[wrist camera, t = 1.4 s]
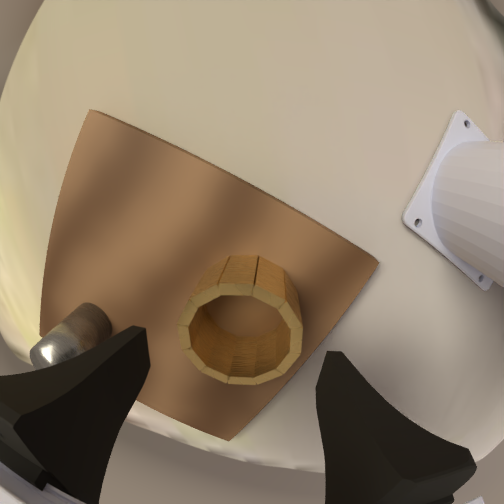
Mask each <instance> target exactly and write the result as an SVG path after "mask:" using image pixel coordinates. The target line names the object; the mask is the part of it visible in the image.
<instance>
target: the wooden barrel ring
mask: <svg viewBox="0 0 504 504" xmlns="http://www.w3.org/2000/svg"><path fill="white" fill-rule="evenodd" d="M221 295H244V296H253V297H255V298H257V299H259V300H261V301H263V302H265V303H267V304H269V305H271V306H273V307H275V308H277V309H278V311H279V312H280V314H281V316H282V317H283V319H282V321H281V322H280V324H279V325H278V327H277V328H276V329H274V330H272V331H270V332H268V333H265V334H263V335H261V336H259V337H241V336H236V335H234V334H232V333H230V332H227V331H225V330H223V329H221V328H219V327H218V325H217V324H216V323H215V321H214V320H213V319H212V317H211V316H210V315H209V313H208V312H207V304H206V303H208V302H209V301H211V300H213V299H215V298H217V297H219V296H221ZM177 323H178V324H177V328H178V334H179V339H180V344H181V349H183V350H182V351H183V352H184V353H185V355H186V356H187V357H188V358H189V359H190V360H191V362H192V363H193V364H194V365H195V366H196V367H197V368H198V370H199V371H200V370H201V372H202V373H205V374H207V375H209V376H211V377H213V378H215V379H218V380H220V381H222V382H224V383H227V382H228V384H242V385H256V383H257V385H258V384H261V383H263V382H266V381H269V380H271V379H274V378H276V377H279V376H281V375H283V374H285V372H286V371H287V370H288V369H289V368H290V366H291V365H292V364H293V363H294V362H295V361H296V359H297V358H298V357H299V356H300V353H301V347H302V334H303V325H302V318H301V312H300V306H299V299H298V293H297V290H296V288H295V286H294V285H293V283H292V281H291V280H290V278H289V276H288V275H287V273H286V271H285V270H283V268H282V267H280V266H278V265H276V264H274V263H272V262H270V261H269V260H267V259H265V258H263V257H261V256H259V258H258V255H231V257H230V256H228V257H226V258H225V259H223V260H221V261H219V262H218V263H216V264H214V265H213V266H211V267H209V268H208V269H207V270H206V271H205V273H204V275H203V276H202V278H201V280H200V281H199V283H198V285H197V286H196V288H195V290H194V292H193V293H192V295H191V297H190V298H189V300H188V302H187V304H186V306H185V308H184V310H183V312H182V314H181V316H180V318H179V320H178V322H177Z"/></svg>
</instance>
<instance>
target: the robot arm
mask: <svg viewBox="0 0 504 504" xmlns="http://www.w3.org/2000/svg"><path fill="white" fill-rule="evenodd" d="M464 121H465V122H466V124H467V127H465V125H464ZM416 219H419V224H418V225H417V226H415V225H414V222H415V220H416ZM402 221H403V223H404V224H405V225H406V226H407V227H409V228H410V229H411V230H413V231H414V232H415V233H417V234H418V235H419V236H420V237H422V238H423V239H424V240H425V241H427V242H428V243H429V244H430V245H432V246H433V247H434V248H435V249H437V250H438V251H439V252H440V253H441V254H443V255H444V256H445V257H446V258H447V259H449V260H450V261H451V262H452V263H453V264H454V265H456V266H457V267H458V268H459V269H460V270H461V271H462V272H463V273H465V274H466V275H467V276H468V277H469V278H470V279H471V280H472V281H473V282H474V283H476V284H477V285H478V286H479V287H480V288H481V289H482V290H483V291H487V290H488V289H489V288H490V287H491V285H492V283H493V282H494V281H495V282H496V283H497V284H499V285H500V286H502V287H503V288H504V141H490V140H489V139H488V138H487V137H486V136H485V134H484V133H483V132H482V131H481V130H480V129H479V128H478V127H477V126H476V124H475V123H474V122H473V121H472V120H471V119H470V118H469V117H468V116H467V115H466V114H465V113H464V112H463V111H460V110H458V111H455V112H454V113H453V115H452V117H451V120H450V122H449V124H448V126H447V129H446V131H445V133H444V135H443V137H442V140H441V142H440V144H439V146H438V148H437V150H436V152H435V154H434V156H433V158H432V160H431V162H430V164H429V166H428V168H427V170H426V172H425V174H424V176H423V178H422V180H421V182H420V183H419V185H418V187H417V189H416V191H415V193H414V194H413V196H412V198H411V200H410V202H409V203H408V205H407V207H406V209H405V210H404V212H403V214H402ZM479 277H480V278H479ZM150 367H151V364H150V356H149V349H148V341H147V332H146V328H144V327H139V326H134V325H132V326H130V327H128V328H127V329H125V330H123V331H121V332H120V333H118V334H116V335H114V336H113V337H111V338H109V339H108V340H106V341H104V342H102V343H101V344H99V345H97V346H95V347H93V348H91V349H89V350H87V351H85V352H83V353H81V354H80V355H78V356H75V357H73V358H71V359H69V360H66V361H64V362H61V363H58V364H56V365H53V366H50V367H46V368H43V369H39V370H35V371H32V372H27V373H22V374H15V375H7V376H0V504H99V498H100V493H101V488H102V483H103V479H104V476H105V472H106V468H107V464H108V461H109V458H110V455H111V452H112V449H113V446H114V443H115V441H116V438H117V435H118V433H119V430H120V428H121V426H122V424H123V422H124V420H125V418H126V417H127V415H128V413H129V411H130V409H131V407H132V406H133V404H134V402H135V400H136V398H137V397H138V395H139V393H140V391H141V389H142V387H143V385H144V383H145V380H146V378H147V375H148V372H149V369H150ZM316 408H317V415H318V420H319V426H320V432H321V438H322V443H323V449H324V456H325V475H326V496H325V497H326V498H325V504H452V503H453V502H454V497H453V493H454V492H455V491H456V490H458V489H459V488H460V487H461V486H462V485H464V484H465V483H466V482H467V481H468V480H469V479H470V478H471V477H472V476H473V475H474V473H475V471H476V468H477V466H476V464H475V462H474V459H473V457H472V455H471V453H470V451H469V449H467V448H465V447H462V446H459V445H456V444H454V443H451V442H449V441H446V440H444V439H442V438H440V437H438V436H436V435H434V434H432V433H430V432H428V431H427V430H425V429H423V428H422V427H420V426H419V425H417V424H415V423H414V422H412V421H411V420H409V419H408V418H407V417H405V416H404V415H403V414H401V413H400V412H399V411H398V410H396V409H395V408H394V407H393V406H392V405H390V404H389V403H388V402H387V401H386V400H385V399H384V398H383V397H382V396H381V395H380V394H379V393H378V392H377V391H376V390H375V389H374V388H373V387H372V386H371V385H370V384H369V383H368V382H367V381H366V380H365V378H364V377H363V376H362V375H361V374H360V373H359V371H358V370H357V369H356V368H355V367H354V366H353V364H352V363H351V362H350V361H349V360H348V358H347V357H346V356H345V355H344V354H343V353H342V352H339V351H327V353H326V356H325V359H324V363H323V366H322V369H321V372H320V376H319V379H318V382H317V385H316ZM464 504H485V503H484V501H483V498H482V496H479V497H477V498H475V499H473V500H470V501H468V502H466V503H464Z"/></svg>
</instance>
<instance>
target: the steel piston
mask: <svg viewBox="0 0 504 504" xmlns="http://www.w3.org/2000/svg"><path fill="white" fill-rule="evenodd" d="M111 334H112V325H111V322H110V320H109V318H108V316H107V315H106V314H105V312H104V311H103V310H102V309H101V308H99V307H98V306H96V305H95V304H92V303H87V302H86V303H82V304H81V305H79V306H78V307H77V308H76V309H75V310H74V311H72V312H71V313H70V314H69V315H68V316H67V317H66V318H64V319H63V320H62V321H61V322H60V323H59V324H58V325H57V326H55V327H54V328H53V329H52V330H51V331H50V332H49V333H48V334H47V335H46V336H44V337H43V338H42V339H41V340H40V341H39V342H38V343H37V344H36V345H35V346H34V347H33V348H32V349H31V350H30V359H31V362H32V364H33V366H34V368H35V369H36V370H39V369H43V368H46V367H50V366H53V365H56V364H58V363H61V362H64V361H66V360H69V359H71V358H73V357H75V356H78V355H80V354H81V353H83V352H85V351H87V350H89V349H91V348H93V347H95V346H97V345H99V344H101V343H102V342H104V341H106V340H108V339H109V338H110V336H111Z"/></svg>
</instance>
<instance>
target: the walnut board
mask: <svg viewBox="0 0 504 504" xmlns="http://www.w3.org/2000/svg"><path fill="white" fill-rule="evenodd" d="M231 255H258V258H259V256H261V257H263V258H265V259H267V260H269V261H270V262H272V263H274V264H276V265H278V266H280V267H282V268H283V270H285V271H286V273H287V275H288V276H289V278H290V280H291V281H292V283H293V285H294V286H295V288H296V290H297V293H298V299H299V306H300V312H301V318H302V325H303V334H302V347H301V353H300V356H299V357H298V358H297V359H296V361H295V362H294V363H293V364H292V365H291V366H290V368H289V369H288V370H287V371H286V372H285V374H283V375H281V376H279V377H276V378H274V379H271V380H269V381H266V382H263V383H261V384H258V385H257V383H256V385H242V384H228V382H227V383H224V382H222V381H220V380H218V379H215V378H213V377H211V376H209V375H207V374H205V373H202V372H201V370H200V371H199V370H198V368H197V367H196V366H195V365H194V364H193V363H192V362H191V360H190V359H189V358H188V357H187V356H186V355H185V353H184V352H183V351H182V350H183V349H181V344H180V339H179V334H178V328H177V324H178V323H177V322H178V320H179V318H180V316H181V314H182V312H183V310H184V308H185V306H186V304H187V302H188V300H189V298H190V297H191V295H192V293H193V292H194V290H195V288H196V286H197V285H198V283H199V281H200V280H201V278H202V276H203V275H204V273H205V271H206V270H207V269H208V268H209V267H211V266H213V265H214V264H216V263H218V262H219V261H221V260H223V259H225V258H226V257H228V256H230V257H231ZM378 264H379V262H378V261H377V260H376V259H375V258H374V257H373V256H372V255H370V254H369V253H367V252H366V251H364V250H362V249H361V248H359V247H358V246H356V245H354V244H353V243H351V242H350V241H348V240H346V239H345V238H343V237H342V236H340V235H338V234H337V233H335V232H333V231H332V230H330V229H328V228H327V227H325V226H323V225H322V224H320V223H318V222H317V221H315V220H313V219H312V218H310V217H308V216H307V215H305V214H303V213H301V212H300V211H298V210H296V209H294V208H293V207H291V206H289V205H287V204H286V203H284V202H282V201H280V200H279V199H277V198H275V197H273V196H271V195H270V194H268V193H266V192H264V191H262V190H261V189H259V188H257V187H255V186H253V185H251V184H250V183H248V182H246V181H244V180H242V179H240V178H238V177H236V176H235V175H233V174H231V173H229V172H227V171H225V170H223V169H221V168H219V167H217V166H215V165H213V164H211V163H209V162H207V161H205V160H203V159H201V158H199V157H197V156H195V155H193V154H191V153H189V152H187V151H185V150H183V149H181V148H179V147H177V146H175V145H173V144H171V143H169V142H167V141H165V140H162V139H160V138H158V137H156V136H154V135H152V134H150V133H147V132H145V131H143V130H141V129H139V128H136V127H134V126H132V125H130V124H127V123H125V122H123V121H121V120H118V119H116V118H114V117H111V116H109V115H107V114H104V113H102V112H99V111H95V110H90V109H89V111H88V114H87V116H86V118H85V121H84V123H83V126H82V128H81V131H80V133H79V136H78V138H77V141H76V144H75V147H74V149H73V152H72V155H71V158H70V161H69V164H68V167H67V171H66V174H65V177H64V180H63V184H62V187H61V191H60V195H59V199H58V202H57V206H56V211H55V215H54V219H53V224H52V229H51V234H50V239H49V244H48V250H47V256H46V263H45V270H44V278H43V287H42V298H41V311H40V336H41V337H44V336H46V335H47V334H48V333H49V332H50V331H51V330H52V329H53V328H54V327H55V326H57V325H58V324H59V323H60V322H61V321H62V320H63V319H64V318H66V317H67V316H68V315H69V314H70V313H71V312H72V311H74V310H75V309H76V308H77V307H78V306H79V305H81V304H82V303H86V302H87V303H92V304H95V305H96V306H98V307H99V308H101V309H102V310H103V311H104V312H105V314H106V315H107V316H108V318H109V320H110V322H111V325H112V334H111V336H110V338H111V337H113V336H114V335H116V334H118V333H120V332H121V331H123V330H125V329H127V328H128V327H130V326H132V325H134V326H139V327H144V328H146V332H147V341H148V349H149V356H150V364H151V367H150V369H149V372H148V375H147V378H146V380H145V383H144V385H143V387H142V389H141V391H140V393H139V395H138V397H137V398H136V400H137V401H139V402H141V403H143V404H145V405H147V406H148V407H150V408H152V409H154V410H156V411H158V412H160V413H162V414H164V415H167V416H169V417H171V418H173V419H175V420H177V421H180V422H182V423H184V424H186V425H189V426H191V427H193V428H196V429H198V430H200V431H203V432H205V433H208V434H211V435H213V436H216V437H218V438H221V439H224V440H227V441H230V440H231V439H232V438H233V437H234V436H235V435H236V434H237V433H238V432H240V431H241V430H242V429H243V428H244V427H245V426H246V425H247V424H248V423H249V422H250V421H251V420H252V419H253V418H254V417H255V416H256V415H257V414H258V413H259V412H260V411H261V410H262V409H263V408H264V407H265V405H266V404H267V403H268V402H269V401H270V400H271V399H272V398H273V397H274V396H275V395H276V394H277V393H278V392H279V391H280V389H281V388H282V387H283V386H284V385H285V384H286V383H287V382H288V381H289V380H290V378H291V377H292V376H293V375H294V374H295V373H296V372H297V370H298V369H299V368H300V367H301V366H302V365H303V363H304V362H305V361H306V360H307V359H308V358H309V356H310V355H311V354H312V353H313V352H314V350H315V349H316V348H317V347H318V346H319V344H320V343H321V342H322V341H323V339H324V338H325V337H326V336H327V334H328V333H329V332H330V331H331V329H332V328H333V327H334V325H335V324H336V323H337V322H338V320H339V319H340V318H341V316H342V315H343V314H344V312H345V311H346V310H347V308H348V307H349V306H350V304H351V303H352V301H353V300H354V299H355V297H356V296H357V295H358V293H359V292H360V290H361V289H362V288H363V286H364V285H365V283H366V282H367V280H368V279H369V277H370V276H371V275H372V273H373V272H374V270H375V269H376V267H377V266H378ZM206 304H207V312H208V313H209V315H210V316H211V317H212V319H213V320H214V321H215V323H216V324H217V325H218V327H219V328H221V329H223V330H225V331H227V332H230V333H232V334H234V335H236V336H241V337H259V336H261V335H263V334H265V333H268V332H270V331H272V330H274V329H276V328H277V327H278V325H279V324H280V322H281V321H282V319H283V317H282V316H281V314H280V312H279V311H278V309H277V308H275V307H273V306H271V305H269V304H267V303H265V302H263V301H261V300H259V299H257V298H255V297H253V296H244V295H221V296H219V297H217V298H215V299H213V300H211V301H209V302H208V303H206Z"/></svg>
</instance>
